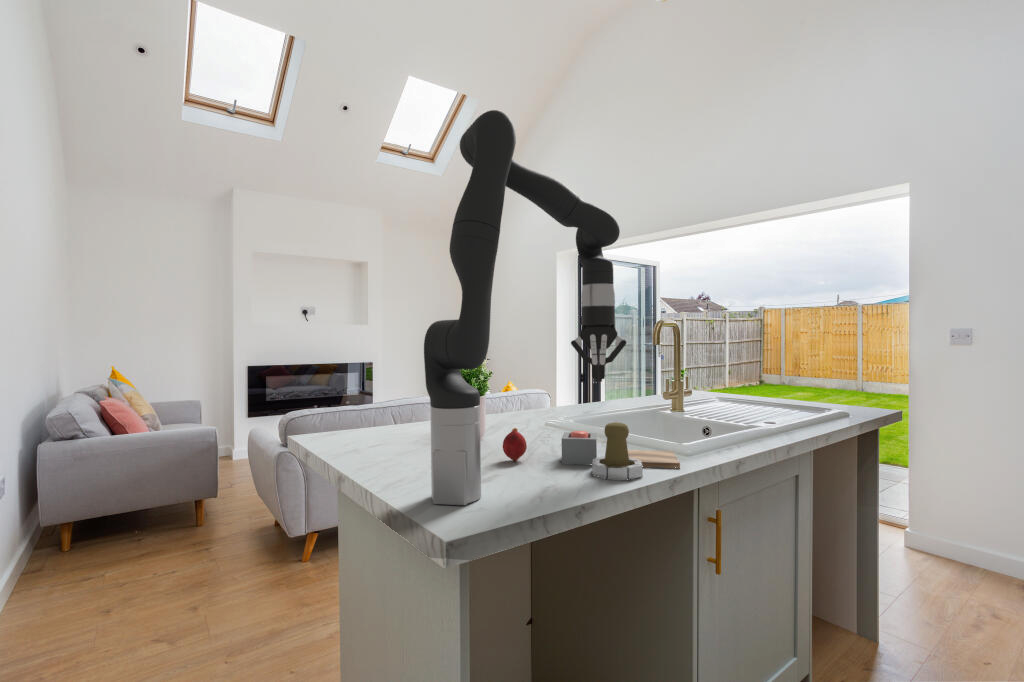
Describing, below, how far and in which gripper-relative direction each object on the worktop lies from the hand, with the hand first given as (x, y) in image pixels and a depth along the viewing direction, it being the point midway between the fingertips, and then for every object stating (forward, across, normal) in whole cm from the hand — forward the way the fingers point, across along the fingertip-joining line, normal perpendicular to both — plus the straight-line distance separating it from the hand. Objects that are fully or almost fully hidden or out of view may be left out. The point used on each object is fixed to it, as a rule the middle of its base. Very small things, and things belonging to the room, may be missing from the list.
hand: (598, 381), depth 115 cm
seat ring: (+20, +4, -5) cm, 21 cm away
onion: (+20, -20, +4) cm, 29 cm away
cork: (+20, +4, -5) cm, 21 cm away
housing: (+20, -4, +6) cm, 21 cm away
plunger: (+19, -5, +6) cm, 20 cm away
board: (+20, +12, +7) cm, 24 cm away
